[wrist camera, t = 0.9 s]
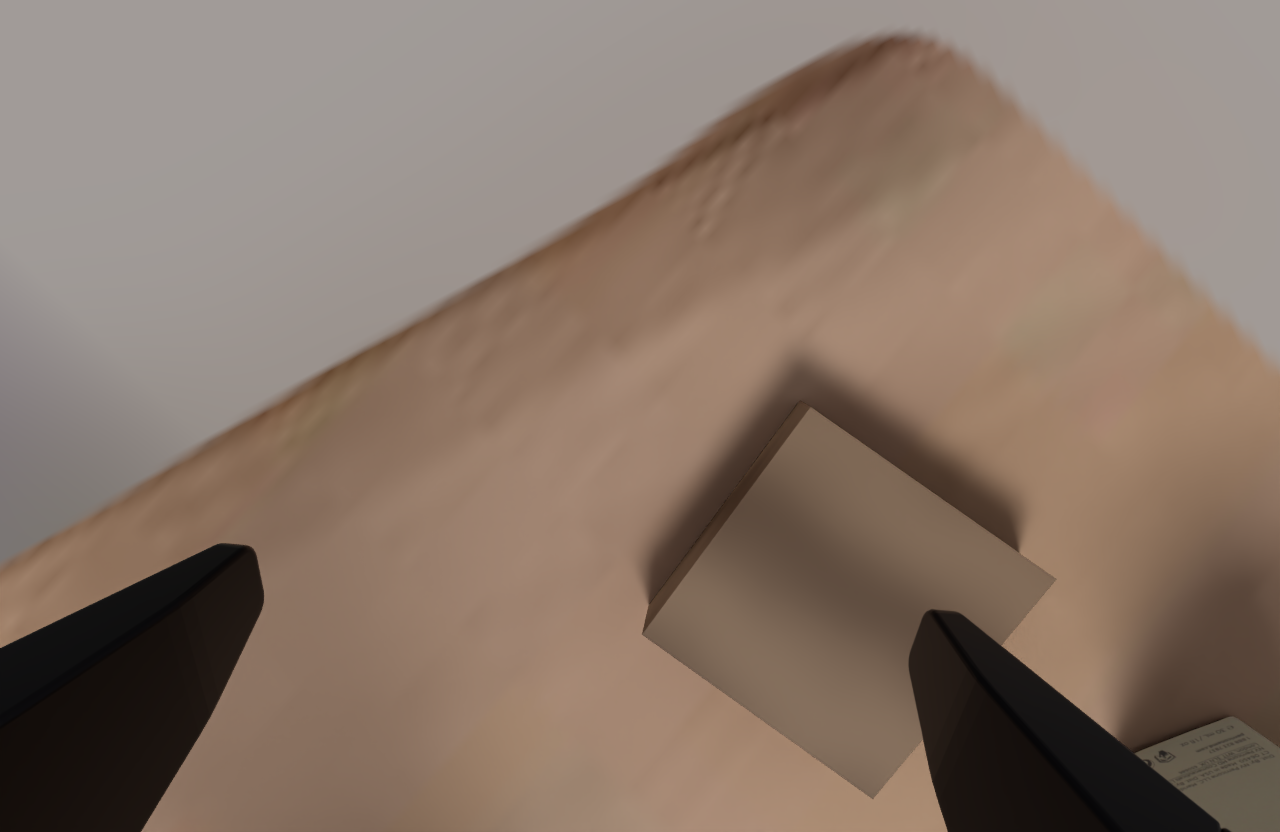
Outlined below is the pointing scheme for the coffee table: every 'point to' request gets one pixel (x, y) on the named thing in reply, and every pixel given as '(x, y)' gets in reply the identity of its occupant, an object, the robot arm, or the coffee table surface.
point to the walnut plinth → (833, 595)
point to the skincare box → (1224, 773)
